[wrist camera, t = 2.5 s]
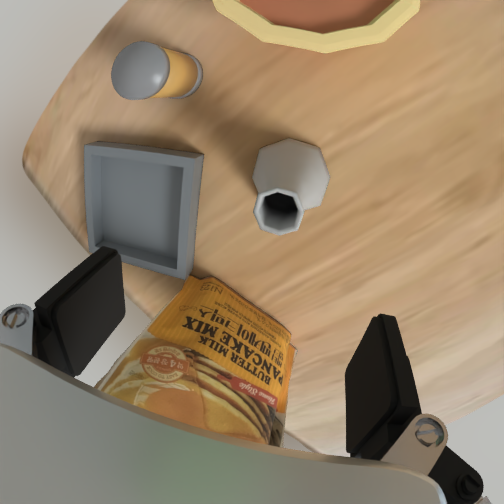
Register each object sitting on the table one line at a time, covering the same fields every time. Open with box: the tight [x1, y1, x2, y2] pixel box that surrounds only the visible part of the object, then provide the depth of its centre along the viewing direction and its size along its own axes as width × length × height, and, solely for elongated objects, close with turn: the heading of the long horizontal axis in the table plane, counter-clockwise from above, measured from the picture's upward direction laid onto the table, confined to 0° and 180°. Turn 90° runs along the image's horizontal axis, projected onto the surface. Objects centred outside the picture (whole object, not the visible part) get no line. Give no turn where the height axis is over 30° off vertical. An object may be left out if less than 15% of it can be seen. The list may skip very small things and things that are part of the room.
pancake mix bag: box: [94, 275, 298, 448], centre depth 24 cm, size 7×19×28 cm, turn 53°
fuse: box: [111, 41, 203, 100], centre depth 22 cm, size 5×5×8 cm
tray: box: [84, 141, 204, 280], centre depth 31 cm, size 13×13×2 cm
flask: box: [252, 138, 330, 235], centre depth 23 cm, size 7×7×10 cm
